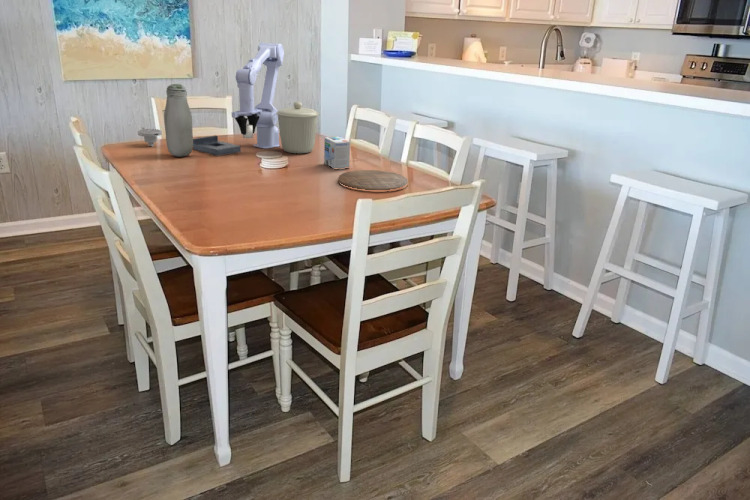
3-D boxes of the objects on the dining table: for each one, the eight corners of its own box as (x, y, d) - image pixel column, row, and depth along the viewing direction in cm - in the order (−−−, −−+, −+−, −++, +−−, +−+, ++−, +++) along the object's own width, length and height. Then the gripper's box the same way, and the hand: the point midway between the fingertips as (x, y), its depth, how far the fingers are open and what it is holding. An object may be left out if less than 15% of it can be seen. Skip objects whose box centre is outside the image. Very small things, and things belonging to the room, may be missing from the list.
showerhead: (152, 126, 249) (165, 129, 244) (153, 142, 252) (167, 146, 247) (132, 128, 242) (145, 131, 237) (134, 145, 245) (147, 149, 240)
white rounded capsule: (248, 136, 241) (248, 124, 239) (255, 137, 239) (254, 125, 237) (241, 137, 238) (240, 125, 236) (247, 138, 236) (247, 126, 234)
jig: (216, 145, 252) (215, 135, 251) (240, 151, 244) (240, 141, 242) (193, 149, 243) (192, 138, 242) (217, 155, 234) (217, 144, 233)
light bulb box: (323, 163, 231) (323, 136, 227) (338, 162, 234) (339, 136, 230) (334, 170, 222) (334, 142, 218) (350, 169, 225) (350, 141, 221)
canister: (316, 157, 241) (316, 105, 233) (273, 154, 241) (272, 103, 233) (321, 148, 258) (321, 99, 250) (280, 146, 258) (280, 97, 250)
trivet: (329, 176, 214) (329, 171, 213) (392, 173, 222) (392, 168, 222) (351, 195, 192) (351, 190, 192) (418, 191, 201) (419, 186, 200)
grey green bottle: (178, 160, 225) (172, 86, 214) (162, 155, 230) (156, 83, 220) (199, 156, 232) (194, 84, 222) (183, 152, 238) (178, 82, 227)
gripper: (239, 102, 225) (240, 137, 230) (266, 99, 236) (267, 132, 241) (227, 100, 229) (229, 134, 234) (255, 97, 240) (256, 130, 245)
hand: (247, 133), depth 238 cm, fingers closed on white rounded capsule, 4 cm apart
